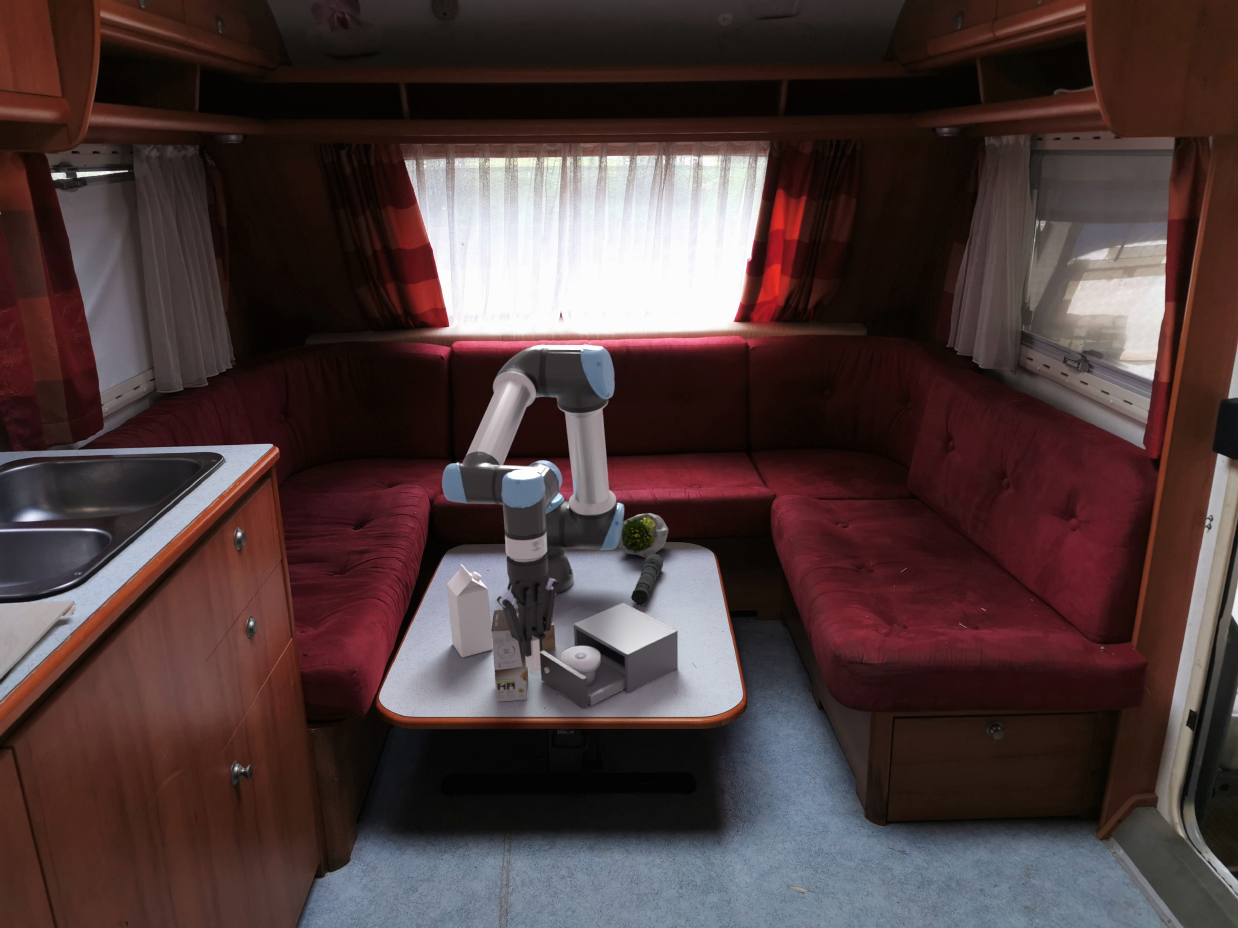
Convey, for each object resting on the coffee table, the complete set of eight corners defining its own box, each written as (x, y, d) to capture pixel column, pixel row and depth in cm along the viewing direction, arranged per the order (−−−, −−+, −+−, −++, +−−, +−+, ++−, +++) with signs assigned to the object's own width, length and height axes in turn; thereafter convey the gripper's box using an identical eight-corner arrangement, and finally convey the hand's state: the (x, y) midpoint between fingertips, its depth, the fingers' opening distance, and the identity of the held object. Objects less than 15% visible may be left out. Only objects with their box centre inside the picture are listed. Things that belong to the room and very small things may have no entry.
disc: (553, 662, 184) (553, 654, 184) (584, 648, 189) (583, 641, 189) (577, 678, 179) (577, 670, 178) (608, 663, 183) (608, 656, 183)
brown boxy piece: (527, 647, 201) (526, 623, 199) (543, 640, 203) (542, 617, 201) (539, 655, 197) (538, 630, 196) (555, 648, 200) (554, 624, 198)
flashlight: (663, 571, 237) (663, 553, 235) (649, 607, 218) (649, 589, 216) (645, 569, 238) (644, 552, 236) (629, 606, 219) (629, 587, 217)
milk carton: (462, 658, 197) (455, 579, 191) (452, 644, 203) (445, 567, 197) (493, 650, 200) (487, 572, 194) (482, 636, 206) (476, 560, 200)
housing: (575, 661, 195) (573, 623, 192) (623, 638, 204) (623, 602, 201) (628, 693, 183) (627, 654, 180) (677, 668, 191) (677, 630, 188)
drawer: (538, 680, 187) (536, 652, 185) (590, 655, 196) (589, 628, 194) (583, 710, 177) (581, 681, 175) (636, 683, 185) (636, 654, 183)
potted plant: (678, 535, 249) (668, 543, 235) (642, 563, 252) (630, 572, 238) (651, 501, 251) (639, 506, 236) (616, 528, 254) (602, 535, 239)
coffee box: (528, 700, 181) (523, 629, 176) (496, 702, 181) (490, 631, 176) (528, 675, 190) (524, 607, 185) (498, 677, 189) (493, 608, 184)
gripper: (509, 570, 158) (516, 688, 166) (567, 550, 166) (572, 663, 174) (485, 558, 164) (493, 672, 171) (543, 538, 172) (548, 649, 179)
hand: (533, 667), depth 172 cm, fingers closed
